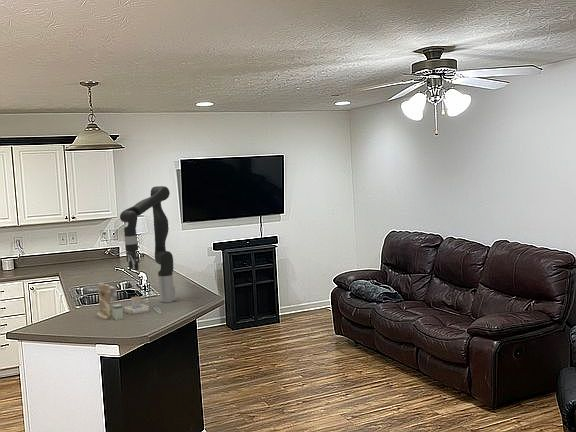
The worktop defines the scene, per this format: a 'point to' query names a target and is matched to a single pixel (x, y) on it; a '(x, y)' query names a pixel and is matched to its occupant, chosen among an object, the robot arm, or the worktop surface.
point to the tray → (136, 311)
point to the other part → (117, 312)
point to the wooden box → (106, 300)
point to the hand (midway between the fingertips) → (133, 269)
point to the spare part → (136, 302)
